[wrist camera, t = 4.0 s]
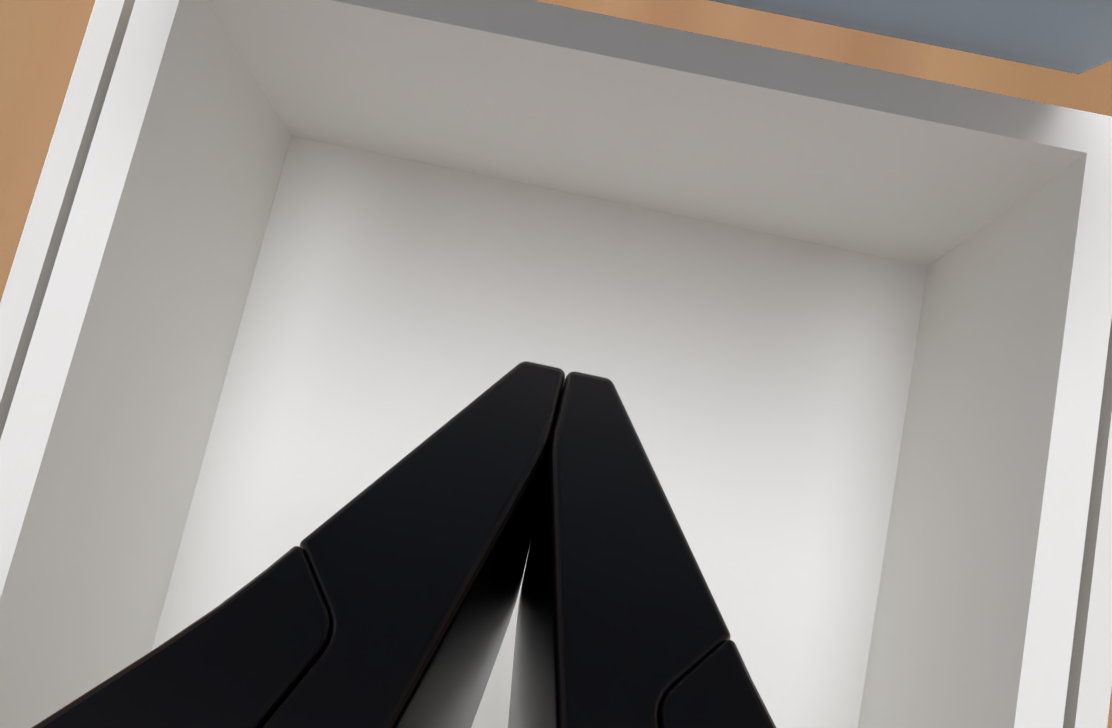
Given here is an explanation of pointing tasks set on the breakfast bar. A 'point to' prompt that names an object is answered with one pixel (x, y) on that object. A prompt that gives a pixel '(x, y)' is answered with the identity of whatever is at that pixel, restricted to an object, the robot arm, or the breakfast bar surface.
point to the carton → (569, 334)
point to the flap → (974, 25)
